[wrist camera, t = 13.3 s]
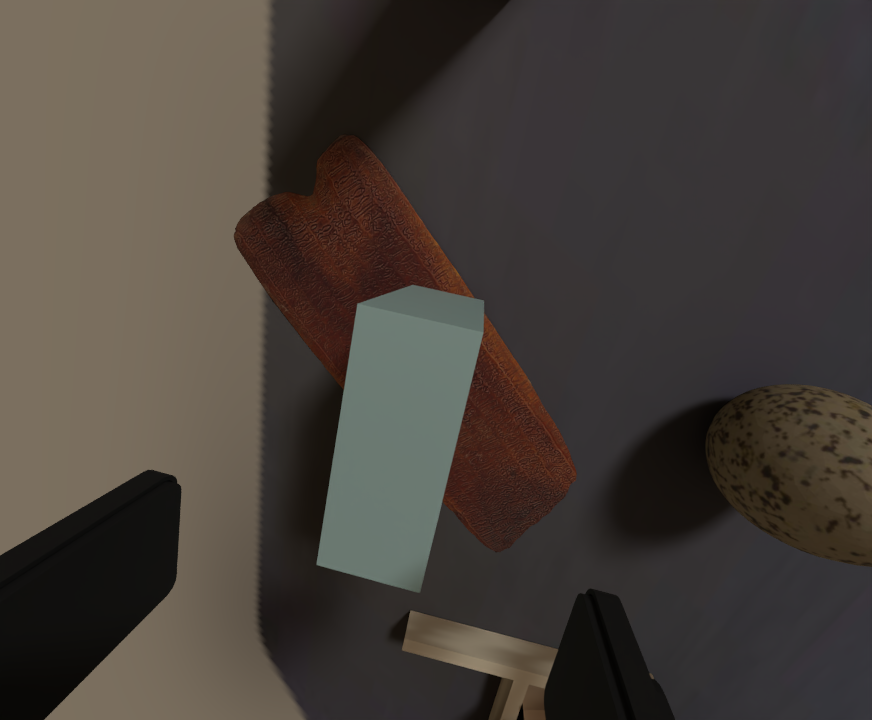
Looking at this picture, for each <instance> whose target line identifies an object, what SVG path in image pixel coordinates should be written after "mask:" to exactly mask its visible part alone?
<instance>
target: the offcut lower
mask: <svg viewBox="0 0 872 720" xmlns="http://www.w3.org/2000/svg"><path fill="white" fill-rule="evenodd" d="M544 691H545V689H544V688H540V687H537V686H533V685H529V686H528V688H527V691H526V694H525V697H524V700H523V713H524V720H546V718H545V710H544Z"/></svg>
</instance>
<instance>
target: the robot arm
mask: <svg viewBox="0 0 872 720" xmlns="http://www.w3.org/2000/svg"><path fill="white" fill-rule="evenodd" d="M180 504H181V486H180V485H179V484H177V479H176V478H175V477H174V476H173V475H169V474H165V473H161V472H158V471H154V470H147V471H145V472H143V473H141V474H139V475H137V476H136V477H134V478H132V479H130V480H129V481H127V482H125V483H124V484H122V485H120V486H118V487H117V488H115V489H113V490H112V491H110V492H108V493H106V494H105V495H103V496H101V497H100V498H98V499H96V500H94V501H93V502H91V503H89V504H88V505H86V506H84V507H82V508H81V509H79V510H78V511H76V512H74V513H72V514H70V515H69V516H67V517H65V518H64V519H62V520H60V521H58V522H57V523H55V524H53V525H52V526H50V527H48V528H46V529H45V530H43V531H41V532H40V533H38V534H36V535H35V536H33V537H31V538H29V539H28V540H26V541H24V542H23V543H21V544H19V545H17V546H16V547H14V548H12V549H11V550H9V551H7V552H5V553H4V554H2V555H0V720H44V719H45V718H46V717H47V716H48V715H49V714H50V713H51V712H52V711H53V710H54V709H55V708H56V707H57V706H58V705H59V704H60V703H61V702H62V701H63V700H64V699H65V698H66V697H67V696H68V695H69V694H70V693H71V692H72V691H73V690H74V689H75V688H76V687H77V686H78V685H79V684H80V683H81V682H82V681H83V680H84V679H85V678H86V677H87V676H88V675H89V674H90V673H91V672H92V670H94V669H95V667H97V665H99V664H100V662H101V661H103V660H104V659H105V658H106V657H107V656H108V654H110V653H111V651H113V649H114V648H115V647H116V646H117V645H118V644H119V643H120V642H121V641H122V640H123V639H124V638H125V637H126V636H127V635H128V634H129V633H130V632H131V631H132V630H133V629H134V628H135V627H136V626H137V625H138V624H139V623H140V622H141V621H142V620H143V619H144V618H145V617H146V616H147V615H148V614H149V613H150V612H151V611H152V610H153V609H154V608H155V607H156V606H157V605H158V604H159V603H160V602H161V601H162V600H163V599H164V598H165V597H166V596H167V595H168V594H169V592H170V591H171V589H172V588H173V585H174V583H175V581H176V574H177V558H178V540H179V522H180ZM544 710H545V718H546V720H675V718H674V716H673V713H672V711H671V708H670V706H669V703H668V701H667V699H666V696H665V694H664V692H663V690H662V688H661V686H660V685H659V684H658V683H657V681H656V680H655V679H651V676H650V674H649V671H648V669H647V666H646V664H645V661H644V659H643V656H642V654H641V651H640V649H639V646H638V643H637V641H636V638H635V636H634V633H633V631H632V628H631V626H630V623H629V621H628V618H627V616H626V613H625V611H624V608H623V606H622V603H621V601H620V599H619V597H618V596H616V595H613V594H609V593H606V592H602V591H598V590H594V589H588V590H587V592H586V594H581V593H580V594H578V596H577V598H576V601H575V603H574V606H573V609H572V612H571V615H570V618H569V620H568V623H567V626H566V629H565V632H564V635H563V637H562V640H561V643H560V646H559V649H558V652H557V654H556V657H555V660H554V663H553V666H552V669H551V671H550V674H549V677H548V680H547V683H546V686H545V691H544Z"/></svg>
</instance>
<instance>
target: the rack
mask: <svg viewBox="0 0 872 720" xmlns="http://www.w3.org/2000/svg"><path fill="white" fill-rule="evenodd" d="M402 650H403V651H407V652H411V653H414V654H418V655H422V656H425V657H429V658H433V659H437V660H440V661H444V662H448V663H451V664H455V665H459V666H463V667H466V668H470V669H474V670H477V671H481V672H485V673H488V674H492V675H496V676H500V677H502V679H501V682H500V685H499V688H498V691H497V694H496V697H495V700H494V703H493V707H492V710H491V713H490V716H489V719H488V720H517V717H518V714H519V711H520V708H521V705H522V703H523V700H524V697H525V694H526V691H527V688H528V686H529V685H533V686H537V687H540V688H544V689H545V686H546V683H547V680H548V677H549V674H550V671H551V669H552V666H553V663H554V660H555V657H556V654H557V652H558V649H555V648H551V647H548V646H544V645H540V644H536V643H532V642H529V641H525V640H521V639H517V638H513V637H510V636H506V635H502V634H498V633H495V632H491V631H487V630H483V629H479V628H476V627H472V626H468V625H464V624H460V623H457V622H453V621H449V620H445V619H442V618H438V617H434V616H430V615H426V614H423V613H419V612H415V611H411V610H410V615H409V619H408V623H407V628H406V633H405V638H404V643H403V648H402ZM649 674H650V673H649ZM650 676H651V679H654V678H653V676H652V674H650Z"/></svg>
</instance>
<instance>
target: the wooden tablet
mask: <svg viewBox="0 0 872 720" xmlns="http://www.w3.org/2000/svg"><path fill="white" fill-rule="evenodd" d="M316 167H317V175H316V183H315V187H314V191H313V195H311V196H309V197H308V196H302V195H299V194H295V193H290V192H284V193H281V194H278V195H274V196H271V197H269V198H267V199H265V200H264V201H262V202H260V203H259V204H257V205H256V206H255V207H253V208H252V209H251V210H250V211H248V212H247V213H246V214H245V215H244V216H243V217H242V218H241V219H240V221H239V222H238V224H237V226H236V228H235V230H236V232H235V233H234V240H235V242H236V245H237V248H238V249H239V251H240V253H241V254H242V256H243V257H244V259H245V260H246V262H247V263H248V265H249V266H250V268H251V269H252V271H253V272H254V274H255V276H256V277H257V279H258V280H259V282H260V283H261V284H262V286H263V287H264V289H265V290H266V291H267V293H268V294H269V296H270V297H271V298H272V300H273V301H274V302H275V304H276V305H277V306H278V307H279V309H280V310H281V312H282V313H283V314H284V315H285V317H286V318H287V319H288V321H289V322H290V323H291V324H292V325H293V327H294V328H295V330H296V331H297V332H298V333H299V335H300V336H301V338H302V339H303V340H304V342H305V343H306V344H307V345H308V346H309V348H310V349H311V350H312V352H313V353H314V354H315V355H316V356H317V357H318V359H319V360H320V361H321V362H322V364H323V365H324V367H325V368H326V369H327V370H328V371H329V373H330V374H331V375H332V376H333V377H334V379H335V380H336V381H337V383H338V384H339V385H340V386H341V387H342V388H343V389H344V386H345V380H346V374H347V367H348V361H349V355H350V348H351V342H352V336H353V329H354V323H355V316H356V310H357V304H358V303H361V302H364V301H367V300H370V299H373V298H376V297H379V296H381V295H384V294H387V293H390V292H393V291H396V290H399V289H402V288H405V287H408V286H411V285H416V286H421V287H425V288H430V289H434V290H439V291H443V292H448V293H452V294H457V295H461V296H466V297H470V298H474V296H473V295H472V294H471V292H470V291H469V289H468V288H467V286H466V284H465V283H464V281H463V280H462V278H461V277H460V275H459V274H458V272H457V271H456V269H455V268H454V267H453V265H452V264H451V263H450V261H449V260H448V258H447V257H446V255H445V254H444V252H443V251H442V249H441V248H440V246H439V245H438V244H437V242H436V241H435V239H434V238H433V237H432V235H431V234H430V233H429V231H428V230H427V228H426V227H425V225H424V223H423V221H422V220H421V219H420V218H419V216H418V215H417V213H416V212H415V210H414V209H413V207H412V206H411V204H410V203H409V201H408V199H407V198H406V196H405V195H404V194H403V192H402V191H401V189H400V188H399V186H398V185H397V183H396V182H395V181H394V179H393V178H392V176H391V175H390V174H389V172H388V171H387V170H386V168H385V167H384V165H383V164H382V163H381V162H380V161H379V160H378V158H377V157H376V155H375V154H374V153H373V152H372V151H371V150H370V149H369V148H368V146H367V145H365V144H364V143H363V142H362V141H361V140H360V139H359V138H358V137H356V136H354V135H346V134H344V135H341V136H340V137H338V138H337V139H336V140H335V141H334V142H333V143H332V144H331V145H330V146H329V147H328V148H327V150H326V151H325V152H324V153H322V155H321V157H320V158H319V159H318V160H317V166H316ZM474 299H475V298H474ZM574 481H576V470H575V467H574V464H573V461H572V459H571V456H570V453H569V450H568V448H567V446H566V444H565V442H564V439H563V438H562V435H561V433H560V431H559V429H558V428H557V427H556V425H555V423H554V421H553V420H552V418H551V417H550V416H549V414H548V413H547V411H546V410H545V408H544V407H543V405H542V403H541V402H540V399H539V397H538V395H537V394H536V392H535V390H534V388H533V387H532V385H531V383H530V381H529V379H528V378H527V376H526V375H525V373H524V372H523V370H522V369H521V368H520V366H519V364H518V363H517V361H516V360H515V359H514V358H513V356H512V354H511V352H510V351H509V350H508V348H507V347H506V345H505V344H504V342H503V341H502V339H501V338H500V336H499V334H498V333H497V331H496V330H495V328H494V327H493V325H492V324H491V322H490V321H489V319H488V318H487V316H486V315H485V313H484V332H483V337H482V341H481V345H480V349H479V353H478V357H477V361H476V365H475V369H474V373H473V377H472V382H471V386H470V390H469V394H468V398H467V402H466V406H465V410H464V414H463V418H462V422H461V427H460V431H459V435H458V439H457V443H456V447H455V451H454V455H453V459H452V463H451V467H450V472H449V476H448V480H447V484H446V488H445V492H444V496H443V500H442V501H443V502H444V504H445V505H446V506H447V507H448V508H449V509H450V510H452V511H453V512H454V513H455V515H456V516H457V517H458V519H459V520H460V521H461V522H462V523H463V524H464V525H465V527H466V528H467V529H468V530H469V531H470V532H471V533H472V534H474V535H475V536H476V538H477V539H478V540H479V541H480V542H482V543H483V544H484V545H485V546H486V547H488V548H490V549H492V550H493V551H495V552H501V551H502V550H504V549H507V548H510V547H511V546H512V544H513V543H514V542H515V540H516V539H518V538H519V537H520V536H521V535H522V534H523V533H524V532H525V531H526V530H527V529H528V528H529V527H530V526H532V525H534V524H536V523H537V522H538V521H539V520H540V519H541V518H542V517H544V516H545V515H547V514H549V513H550V512H551V510H552V508H553V507H554V506H555V505H556V504H557V503H558V502H560V501H561V500H562V499H563V498H564V497H565V495H566V493H567V492H568V489H569V486H570V484H571V483H573V482H574Z"/></svg>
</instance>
